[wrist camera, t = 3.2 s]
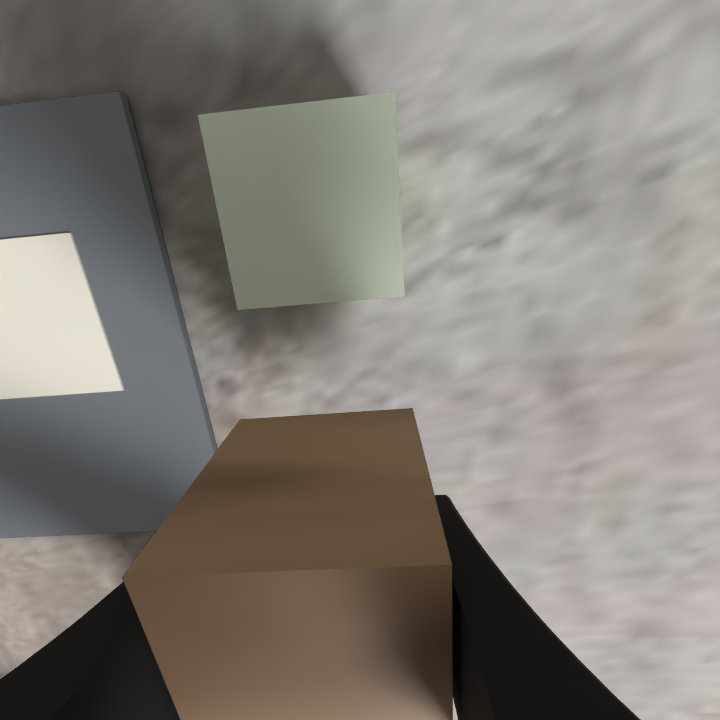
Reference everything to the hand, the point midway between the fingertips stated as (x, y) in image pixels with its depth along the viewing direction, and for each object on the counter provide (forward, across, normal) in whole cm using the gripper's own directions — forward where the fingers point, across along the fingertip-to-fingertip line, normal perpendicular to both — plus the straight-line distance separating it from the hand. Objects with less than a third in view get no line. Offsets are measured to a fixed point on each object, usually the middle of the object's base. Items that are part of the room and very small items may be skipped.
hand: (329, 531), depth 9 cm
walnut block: (+2, 0, 0) cm, 2 cm away
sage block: (+8, 0, -8) cm, 11 cm away
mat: (+8, +14, -3) cm, 16 cm away
